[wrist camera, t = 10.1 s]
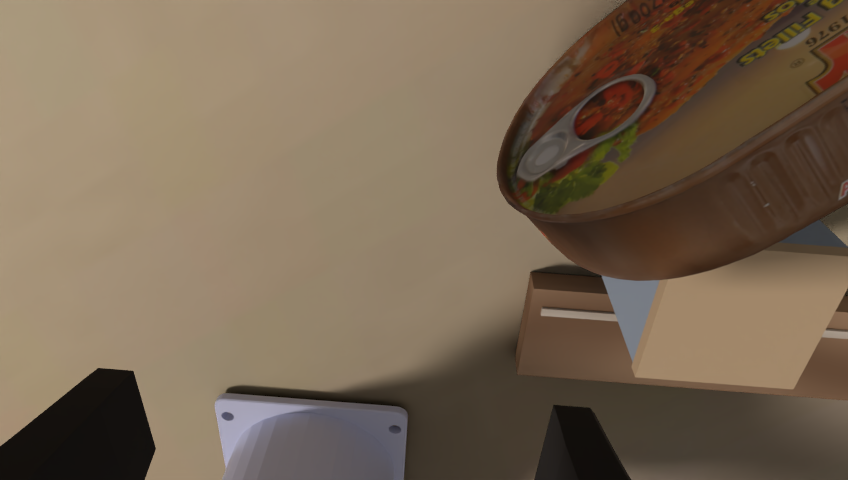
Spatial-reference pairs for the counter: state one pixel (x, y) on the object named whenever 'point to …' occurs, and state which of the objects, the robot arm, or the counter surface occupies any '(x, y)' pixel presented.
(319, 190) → the counter surface
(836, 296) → the tan grey block
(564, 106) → the tin
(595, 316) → the board
